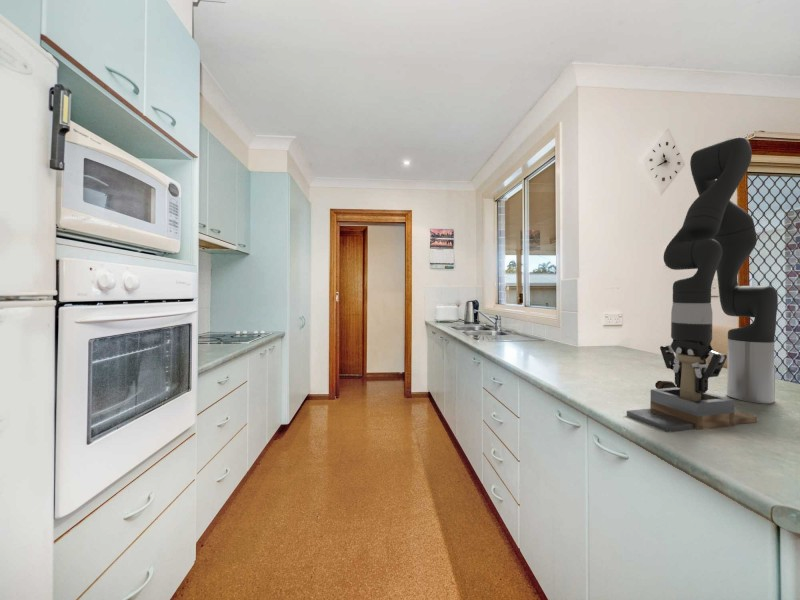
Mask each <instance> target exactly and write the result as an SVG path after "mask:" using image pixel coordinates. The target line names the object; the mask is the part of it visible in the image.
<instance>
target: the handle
mask: <svg viewBox="0 0 800 600" xmlns="http://www.w3.org/2000/svg"><path fill="white" fill-rule="evenodd" d="M678 360H679V361H681V362H682V371H681V384H680V397H684V398H687V399H691V400H694V401H700V400H701V393H697V392H696V377H697V376H696V373H695V369H694V368H693V367H692V364H693V363H696V362H697V363H699V364H701V363H704V361H703V360H701V358H700V357H694V356H689V355H684V354H678Z"/></svg>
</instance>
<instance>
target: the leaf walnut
mask: <svg viewBox="0 0 800 600" xmlns="http://www.w3.org/2000/svg"><path fill="white" fill-rule="evenodd" d="M649 402H650V405H649V406H650V408H653V409H656V410H658V411H661V412H664V413H667V414H670V415H672V416H675V417H678V418H681V419H684V420H686V421H689V422H692V423H695V429H694V430H697V431H698V430H706V429H714V428H715V429H716V428H724V427H725V428H726V427H730V426H731V427H732V426H733V427H734V426H735V425H739V424H747V423H748V424H749V423H750V424H751V423H757V422H758V416H755V415H753V414H749V413H746V412H742V411H739V410H736V409H734V413H727V414H718V415H708V416H699V417H697V416H694V415H691V414H688V413H685V412H682V411H679V410H676V409H673V408H670V407H667V406H664V405H661V404H658V403H655V402H652V401H651V400H650V401H649ZM650 408H649V409H650Z"/></svg>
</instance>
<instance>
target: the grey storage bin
mask: <svg viewBox="0 0 800 600" xmlns="http://www.w3.org/2000/svg"><path fill="white" fill-rule="evenodd" d="M651 401H652V402H655V403H658V404H661V405H664V406H667V407H670V408H673V409H676V410H679V411H682V412H685V413H688V414H691V415H694V416H697V417H699V416H708V415H718V414H727V413H734V410H735V407H736V406H735V403H736V402H735V401H736V400H735V399H733V398H732V399H731V398H729V397H724V396H720V395H718V394H717V395H716V394H713V393H708V392H707V391H706V392H705V393H701V400H700V401H694V400H691V399H687V398H684V397H680V388H678V387H676V388H663V389H657V388H654V389H653V388H652V389H651V388H650V402H651ZM626 416H627V417H630V418H632V419H635V420H637V421H640V422H641V423H644V424H647V425H648V426H651V427H653V426H654V428H657V429H659V430H661V431H664V432H666V433H668V432H670V431H671V432H677V431H689V430H696V429H695V423H692V422H689V421H686V420H684V419H681V418H678V417H675V416H672V415H670V414H667V413H664V412H661V411H658V410H656V409H653V408H643V409H642V408H640V409H630V410H626Z"/></svg>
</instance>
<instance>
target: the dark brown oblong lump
mask: <svg viewBox="0 0 800 600" xmlns="http://www.w3.org/2000/svg"><path fill="white" fill-rule="evenodd" d="M663 388H676V385H675V382H674V381H669V380H658V381H656V382H655V389H663Z"/></svg>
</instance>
